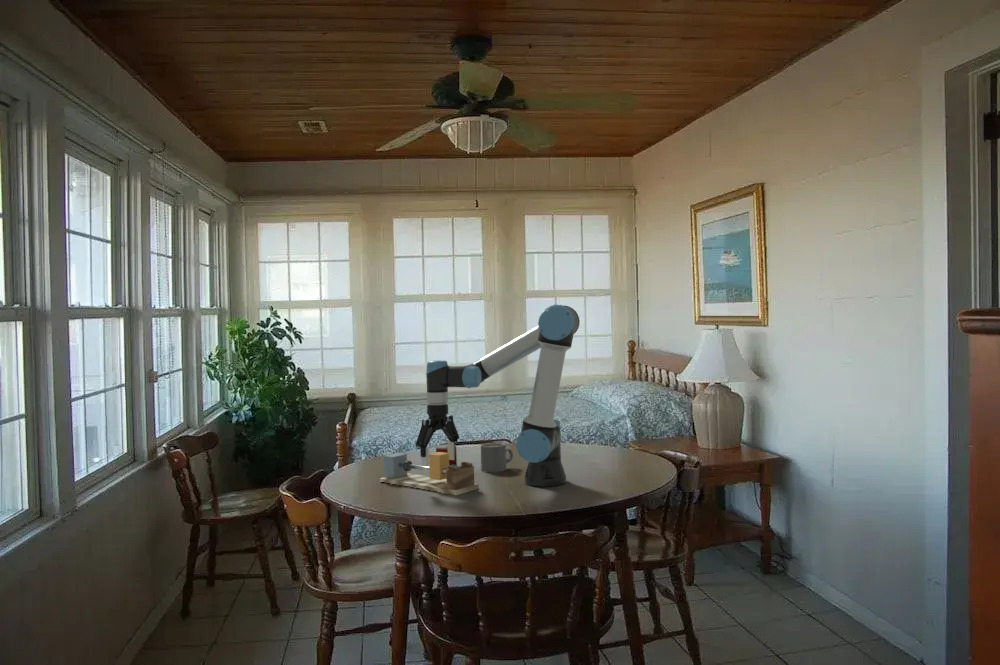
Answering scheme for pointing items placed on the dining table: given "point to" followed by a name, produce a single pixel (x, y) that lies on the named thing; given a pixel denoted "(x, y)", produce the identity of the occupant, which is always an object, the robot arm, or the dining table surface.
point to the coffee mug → (494, 457)
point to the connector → (394, 465)
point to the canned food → (445, 449)
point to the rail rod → (416, 467)
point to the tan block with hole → (438, 465)
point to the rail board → (455, 484)
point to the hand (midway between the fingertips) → (438, 462)
